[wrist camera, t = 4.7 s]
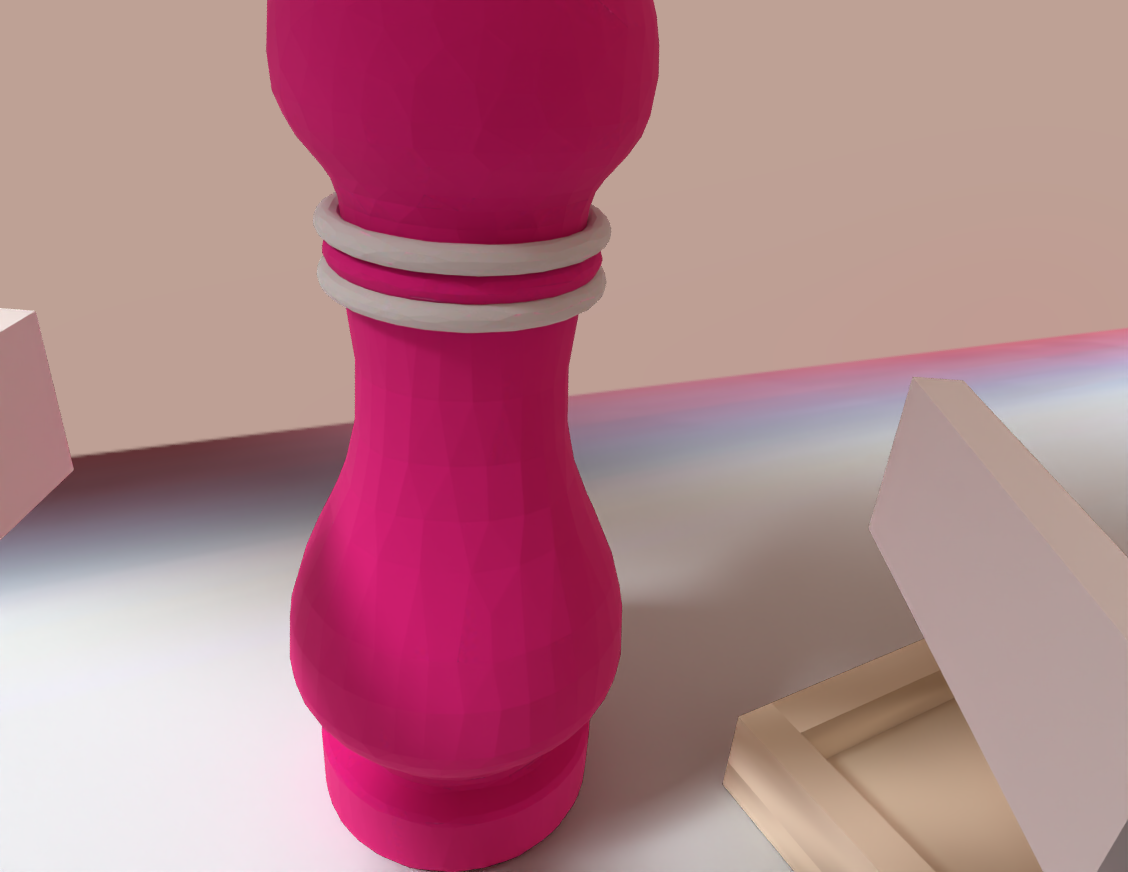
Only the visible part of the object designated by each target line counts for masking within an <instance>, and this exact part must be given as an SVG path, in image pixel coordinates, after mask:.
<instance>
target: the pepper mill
mask: <svg viewBox="0 0 1128 872" xmlns="http://www.w3.org/2000/svg"><path fill="white" fill-rule="evenodd" d="M266 52H267V59H268V66H269V73H270V80H271V88H272V92H273V94H274V96H275V98H276V100H277V103H278V105H279V107H280V109H281V111H282V113H283V115H284V117H285V118H286V120H287V122H288V124H289V125H290V127H291V129H292V130H293V132H294V134H295V135H296V136H297V138H298V139H299V140H300V141H301V142H302V143H303V145H304V146H305V147H306V148H307V149H308V150H309V151H310V153H311V154H312V155H313V156H314V157H315V158H316V160H317V161H318V162H319V163H320V164H321V165H322V167H323V168H324V170H325V171H326V172H327V174H328V175H329V177H330V178H331V181H332V183H333V186H334V189H335V191H336V192H334V193H333V194H331V195H329V196H328V197H326V198H324V199H323V200H322V201H321V202H320V203H319V204H318V206H317V207H316V210H315V212H314V218H313V224H314V227H315V229H316V231H317V233H318V234H319V236H320V237H321V238H322V239H323V245H322V253H323V256H322V257H321V259H320V261H319V264H318V268H317V276H318V280H319V283H320V285H321V287H322V289H323V291H324V292H325V293H326V294H327V295H328V296H330V297H331V298H332V299H333V300H334V301H336V302H337V303H339V304H341V305H343V306H345V307H346V310H347V315H348V322H349V327H350V333H351V339H352V345H353V350H354V356H355V420H354V425H353V430H352V434H351V439H350V444H349V448H348V453H347V457H346V460H345V462H344V465H343V467H342V470H341V473H340V475H339V478H338V480H337V482H336V484H335V486H334V488H333V490H332V492H331V494H330V496H329V498H328V500H327V502H326V504H325V506H324V508H323V510H322V512H321V514H320V516H319V518H318V520H317V522H316V524H315V527H314V529H313V531H312V534H311V536H310V538H309V541H308V543H307V545H306V549H305V552H304V555H303V559H302V562H301V566H300V569H299V572H298V576H297V579H296V583H295V586H294V589H293V593H292V599H291V611H290V660H291V665H292V670H293V674H294V678H295V681H296V685H297V687H298V689H299V692H300V694H301V696H302V698H303V700H304V703H305V705H306V706H307V707H308V708H309V710H310V711H311V712H312V714H313V715H314V716H315V717H316V719H317V720H318V721H319V723H320V724H321V725H322V737H323V749H324V760H325V771H326V781H327V786H328V791H329V794H330V797H331V801H332V804H333V806H334V808H335V810H336V812H337V814H338V815H339V817H340V819H341V821H342V823H343V824H344V825H345V826H346V827H347V829H348V830H349V831H350V832H351V833H352V834H353V835H354V836H355V837H356V838H357V839H358V840H359V841H360V842H361V843H363V844H364V845H366V846H367V847H368V848H370V849H371V850H373V851H374V852H375V853H377V854H379V855H381V856H383V857H385V858H388V859H390V860H392V861H395V862H397V863H399V864H402V865H404V866H407V867H410V868H416V869H424V870H434V871H446V872H459V871H466V870H472V869H479V868H484V867H488V866H491V865H494V864H498V863H501V862H504V861H507V860H509V859H512V858H515V857H517V856H519V855H521V854H522V853H524V852H525V851H527V850H529V849H530V848H532V847H533V846H535V845H536V844H538V843H539V842H541V841H542V840H543V839H545V838H546V837H547V836H548V835H549V834H550V833H552V832H553V831H554V830H555V829H556V828H557V826H558V825H559V824H560V823H561V821H562V820H563V818H564V817H565V816H566V814H567V813H568V811H569V810H570V809H571V807H572V806H573V804H574V802H575V800H576V798H577V796H578V793H579V790H580V787H581V784H582V781H583V774H584V768H585V760H586V752H587V744H588V736H589V721H590V718H591V717H592V716H593V714H594V713H595V712H596V710H597V709H598V707H599V706H600V705H601V703H602V702H603V701H604V699H605V697H606V695H607V693H608V691H609V689H610V687H611V685H612V683H613V680H614V677H615V674H616V671H617V667H618V663H619V659H620V655H621V627H622V602H621V594H620V587H619V582H618V578H617V573H616V569H615V565H614V560H613V556H612V552H611V550H610V547H609V545H608V542H607V540H606V537H605V535H604V532H603V530H602V527H601V525H600V522H599V520H598V517H597V515H596V513H595V510H594V508H593V506H592V503H591V501H590V499H589V497H588V495H587V492H586V490H585V487H584V485H583V482H582V479H581V477H580V474H579V471H578V469H577V466H576V464H575V461H574V457H573V451H572V445H571V439H570V433H569V428H568V422H567V414H568V369H569V362H570V357H571V351H572V346H573V341H574V335H575V330H576V325H577V320H578V314H580V313H582V312H585V311H587V310H589V309H590V308H591V307H592V306H593V305H594V304H595V303H596V302H597V301H598V300H599V299H600V298H601V297H602V295H603V292H604V290H605V286H606V277H605V272H604V270H603V268H602V266H601V263H602V255H601V250H602V249H603V248H605V246H606V245H607V243H608V242H609V239H610V236H611V227H610V223H609V221H608V219H607V217H606V216H605V215H604V214H603V213H602V212H601V211H600V210H599V209H598V208H596V207H595V206H593V205H592V204H591V203H592V200H593V197H594V195H595V192H596V191H597V189H598V188H599V187H600V185H601V184H602V183H603V181H604V180H605V179H606V178H607V177H608V176H609V175H610V174H611V173H612V172H613V171H614V169H615V168H616V167H617V166H618V165H619V164H620V163H621V162H622V161H623V160H624V159H625V158H626V157H627V156H628V154H629V153H630V152H631V150H632V149H633V148H634V146H635V145H636V143H637V142H638V141H639V139H640V138H641V137H642V134H643V132H644V129H645V127H646V124H647V122H648V120H649V117H650V114H651V110H652V105H653V100H654V95H655V90H656V86H657V81H658V74H659V38H658V27H657V16H656V11H655V6H654V2H653V0H267V44H266Z"/></svg>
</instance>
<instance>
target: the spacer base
mask: <svg viewBox="0 0 1128 872" xmlns="http://www.w3.org/2000/svg"><path fill="white" fill-rule="evenodd" d="M723 785H724V787H725V788H726V789H727V790H728V792H729V793H730V794H731V795H732V796H733V798H734V799H735V800H736V801H737V802H738V804H739V805H740V806H741V807H742V809H743V810H744V811H745V812H746V813H747V815H748V816H749V817H750V818H751V819H752V821H753V822H754V823H755V824H756V826H757V827H758V828H759V829H760V830H761V832H762V833H763V834H764V835H765V837H766V838H767V839H768V840H769V841H770V843H771V844H772V845H773V846H774V847H775V849H776V850H777V851H778V852H779V854H780V855H781V856H782V857H783V858H784V860H785V861H786V862H787V863H788V864H789V866H790V867H791V868H792V869H793V871H794V872H1043V871H1042V869H1041V867H1040V865H1039V863H1038V861H1037V859H1036V857H1035V855H1034V853H1033V851H1032V849H1031V847H1030V845H1029V843H1028V841H1027V839H1026V837H1025V835H1024V833H1023V831H1022V829H1021V827H1020V825H1019V823H1018V821H1017V819H1016V817H1015V815H1014V814H1013V812H1012V810H1011V808H1010V806H1009V804H1008V802H1007V800H1006V798H1005V796H1004V794H1003V792H1002V790H1001V788H1000V786H999V784H998V782H997V780H996V778H995V776H994V774H993V772H992V770H991V768H990V766H989V764H988V762H987V760H986V758H985V757H984V755H983V753H982V751H981V749H980V747H979V745H978V743H977V741H976V739H975V737H974V735H973V733H972V731H971V729H970V727H969V725H968V723H967V721H966V719H965V717H964V715H963V713H962V711H961V709H960V707H959V705H958V703H957V701H956V700H955V698H954V696H953V694H952V692H951V690H950V688H949V686H948V684H947V682H946V680H945V678H944V676H943V674H942V672H941V670H940V668H939V666H938V664H937V662H936V660H935V658H934V656H933V654H932V652H931V650H930V648H929V646H928V644H927V643H926V641H925V639H922V640H919V641H917V642H915V643H912V644H910V645H908V646H905V647H903V648H900V649H898V650H896V651H893V652H891V653H889V654H886V655H884V656H881V657H879V658H877V659H874V660H872V661H869V662H867V663H865V664H862V665H860V666H858V667H855V668H853V669H850V670H848V671H846V672H843V673H841V674H839V675H836V676H834V677H831V678H829V679H827V680H824V681H822V682H820V683H817V684H815V685H812V686H810V687H808V688H805V689H803V690H800V691H798V692H796V693H793V694H791V695H789V696H786V697H784V698H781V699H779V700H777V701H774V702H772V703H770V704H767V705H765V706H762V707H760V708H758V709H755V710H753V711H751V712H748V713H746V714H743V715H741V716H739V717H738V720H737V724H736V728H735V733H734V737H733V741H732V746H731V750H730V754H729V758H728V763H727V767H726V771H725V776H724V780H723Z"/></svg>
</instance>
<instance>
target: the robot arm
mask: <svg viewBox="0 0 1128 872" xmlns="http://www.w3.org/2000/svg"><path fill="white" fill-rule="evenodd" d="M73 470H74V468H73V464H72V460H71V456H70V452H69V447H68V443H67V439H66V435H65V431H64V427H63V423H62V419H61V414H60V410H59V406H58V402H57V398H56V394H55V389H54V385H53V381H52V378H51V373H50V369H49V364H48V360H47V356H46V352H45V348H44V344H43V340H42V336H41V331H40V327H39V324H38V319H37V315H36V311H29V310H18V309H4V308H0V540H1V539H2V538H3V537H4V536H5V535H6V534H7V533H8V532H9V531H10V530H11V529H13V528H14V527H15V526H16V525H17V524H18V523H19V522H20V521H21V520H22V519H23V518H24V517H25V516H26V515H27V514H28V513H29V512H30V511H31V510H32V509H34V508H35V507H36V506H37V505H38V504H39V503H40V502H41V501H42V500H43V499H44V498H45V497H46V496H47V495H48V494H49V493H50V492H51V491H52V490H53V489H54V488H56V487H57V486H58V485H59V484H60V483H61V482H62V481H63V480H64V479H65V478H66V477H67V476H68V475H69V474H70V473H71V472H72V471H73ZM868 529H869V530H870V532H871V534H872V536H873V538H874V540H875V542H876V544H877V546H878V548H879V550H880V552H881V554H882V556H883V558H884V560H885V562H886V564H887V566H888V568H889V570H890V572H891V574H892V576H893V578H894V580H895V582H896V584H897V586H898V587H899V589H900V591H901V593H902V595H903V597H904V599H905V601H906V603H907V605H908V607H909V609H910V611H911V613H912V615H913V617H914V619H915V621H916V623H917V625H918V627H919V629H920V631H921V633H922V635H923V637H924V639H925V641H926V643H927V644H928V646H929V648H930V650H931V652H932V654H933V656H934V658H935V660H936V662H937V664H938V666H939V668H940V670H941V672H942V674H943V676H944V678H945V680H946V682H947V684H948V686H949V688H950V690H951V692H952V694H953V696H954V698H955V700H956V701H957V703H958V705H959V707H960V709H961V711H962V713H963V715H964V717H965V719H966V721H967V723H968V725H969V727H970V729H971V731H972V733H973V735H974V737H975V739H976V741H977V743H978V745H979V747H980V749H981V751H982V753H983V755H984V757H985V758H986V760H987V762H988V764H989V766H990V768H991V770H992V772H993V774H994V776H995V778H996V780H997V782H998V784H999V786H1000V788H1001V790H1002V792H1003V794H1004V796H1005V798H1006V800H1007V802H1008V804H1009V806H1010V808H1011V810H1012V812H1013V814H1014V815H1015V817H1016V819H1017V821H1018V823H1019V825H1020V827H1021V829H1022V831H1023V833H1024V835H1025V837H1026V839H1027V841H1028V843H1029V845H1030V847H1031V849H1032V851H1033V853H1034V855H1035V857H1036V859H1037V861H1038V863H1039V865H1040V867H1041V869H1042V871H1043V872H1128V557H1127V556H1126V555H1125V554H1124V553H1123V552H1122V551H1121V549H1120V548H1119V547H1118V546H1117V545H1116V544H1115V543H1114V542H1113V541H1112V540H1111V539H1110V538H1109V537H1108V535H1107V534H1106V533H1105V532H1104V531H1103V530H1102V529H1101V528H1100V527H1099V526H1098V525H1097V524H1096V523H1095V522H1094V520H1093V519H1092V518H1091V517H1090V516H1089V515H1088V514H1087V513H1086V512H1085V511H1084V510H1083V509H1082V508H1081V507H1080V505H1079V504H1078V503H1077V502H1076V501H1075V500H1074V499H1073V498H1072V497H1071V496H1070V495H1069V494H1068V493H1067V491H1066V490H1065V489H1064V488H1063V487H1062V486H1061V485H1060V484H1059V483H1058V482H1057V481H1056V480H1055V479H1054V478H1053V476H1052V475H1051V474H1050V473H1049V472H1048V471H1047V470H1046V469H1045V468H1044V467H1043V466H1042V465H1041V464H1040V462H1039V461H1038V460H1037V459H1036V458H1035V457H1034V456H1033V455H1032V454H1031V453H1030V452H1029V451H1028V450H1027V449H1026V447H1025V446H1024V445H1023V444H1022V443H1021V442H1020V441H1019V440H1018V439H1017V438H1016V437H1015V436H1014V435H1013V434H1012V432H1011V431H1010V430H1009V429H1008V428H1007V427H1006V426H1005V425H1004V424H1003V423H1002V422H1001V421H1000V420H999V418H998V417H997V416H996V415H995V414H994V413H993V412H992V411H991V410H990V409H989V408H988V407H987V406H986V405H985V403H984V402H983V401H982V400H981V399H980V398H979V397H978V396H977V395H976V394H975V393H974V392H973V391H972V389H971V388H970V387H969V386H968V385H967V384H966V383H965V382H964V381H961V380H947V379H934V378H921V377H913V378H912V381H911V384H910V388H909V391H908V395H907V398H906V401H905V405H904V408H903V412H902V415H901V419H900V422H899V425H898V429H897V432H896V436H895V439H894V442H893V446H892V449H891V453H890V456H889V459H888V463H887V466H886V470H885V473H884V476H883V480H882V483H881V487H880V490H879V493H878V497H877V500H876V504H875V507H874V510H873V514H872V517H871V521H870V524H869V528H868Z"/></svg>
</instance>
